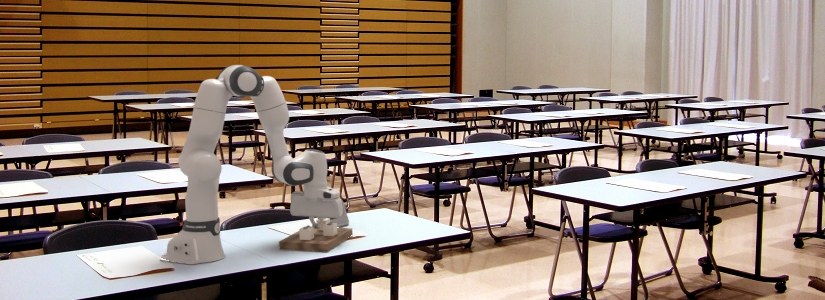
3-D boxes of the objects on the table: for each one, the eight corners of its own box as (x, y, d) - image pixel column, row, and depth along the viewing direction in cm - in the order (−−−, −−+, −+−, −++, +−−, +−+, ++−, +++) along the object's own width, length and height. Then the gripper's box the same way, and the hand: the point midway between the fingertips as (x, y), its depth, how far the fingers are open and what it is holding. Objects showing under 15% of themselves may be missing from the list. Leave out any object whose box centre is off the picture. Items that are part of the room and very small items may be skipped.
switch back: (316, 230, 326) (316, 218, 325) (320, 228, 329) (320, 216, 329) (326, 230, 325) (326, 219, 324) (330, 228, 328) (329, 216, 328)
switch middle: (323, 235, 316) (323, 223, 316) (327, 233, 320) (327, 221, 320) (333, 236, 315) (332, 224, 315) (337, 233, 319) (336, 221, 318)
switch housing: (279, 249, 310) (278, 241, 310) (307, 233, 335) (307, 225, 334) (327, 252, 305) (327, 243, 304) (352, 235, 329) (352, 227, 329)
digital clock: (322, 232, 336) (321, 206, 335) (309, 229, 343) (308, 203, 341) (354, 226, 347) (353, 200, 346) (341, 223, 354) (340, 198, 352)
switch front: (299, 239, 310) (299, 227, 310) (304, 237, 314) (303, 225, 314) (309, 240, 309) (309, 228, 309) (314, 237, 313) (313, 225, 313)
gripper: (286, 192, 317) (287, 228, 318) (337, 194, 311) (338, 231, 313) (294, 189, 323) (294, 225, 324) (344, 191, 317) (344, 227, 319)
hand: (316, 228), depth 319 cm, fingers closed
